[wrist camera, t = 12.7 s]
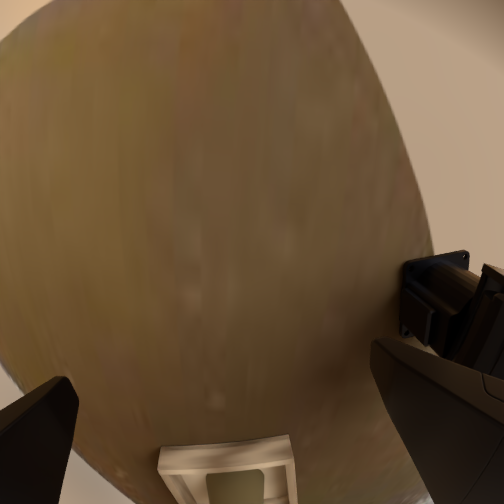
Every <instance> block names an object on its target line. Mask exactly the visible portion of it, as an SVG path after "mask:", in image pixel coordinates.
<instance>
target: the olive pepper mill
mask: <svg viewBox="0 0 504 504" xmlns="http://www.w3.org/2000/svg"><path fill="white" fill-rule="evenodd" d="M264 480H265V479H264V474H263V472H262V471H261V470H259V469H252V470H243V471H233V472H222V473H207V475H206V485H207V491H208V498H209V504H264Z"/></svg>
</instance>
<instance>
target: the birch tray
mask: <svg viewBox="0 0 504 504" xmlns="http://www.w3.org/2000/svg"><path fill="white" fill-rule="evenodd" d="M252 469H259V470H261V471H262V472H263V474H264V479H265V480H264V504H298V503H297V490H296V477H295V464H294V456H293V452H292V447H291V443H290V438H289V434H287V435H281V436H275V437H269V438H262V439H255V440H247V441H239V442H229V443H219V444H206V445H190V446H161V450H160V456H159V462H158V468H157V470H158V472H159V474H160V475H161V477H162V479H163V480H164V482H165V483H166V485H167V487H168V488H169V490H170V491H171V493H172V494H173V496H174V497H175V499H176V500H177V502H178V503H179V504H209V498H208V491H207V485H206V475H207V473H222V472H233V471H243V470H252Z"/></svg>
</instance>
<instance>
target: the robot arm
mask: <svg viewBox="0 0 504 504" xmlns="http://www.w3.org/2000/svg"><path fill="white" fill-rule="evenodd" d="M464 255H465V256H464ZM463 256H464V258H463ZM469 257H470V255H469V252H468V251H466V250H460V251H455V252H450V253H445V254H440V255H435V256H430V257H425V258H420V259H414V260H409V261H407V262H406V263H405V264H404V268H403V289H402V291H401V301H400V316H399V320H400V331H399V333H400V335H401V336H402V337H403V338H409V337H412V336H415V337H416V338H417V339H418V340H419V341H420V342H421V343H422V344H423V345H424V346H425V347H427V346H430V347H431V348H432V349H433V350H434V351H435V352H436V353H437V355H438V356H439V357H438V356H436V355H433V354H430V353H428V352H425V351H423V350H420V349H417V348H415V347H412V346H410V345H407V344H404V343H402V342H399V341H397V340H394V339H392V338H389V337H386V336H383V337H379V338H376V339H373V340H372V342H371V352H370V368H371V372H372V374H373V377H374V379H375V382H376V384H377V387H378V389H379V392H380V394H381V397H382V400H383V402H384V405H385V407H386V410H387V412H388V414H389V416H390V418H391V420H392V422H393V424H394V425H395V427H396V429H397V431H398V433H399V435H400V437H401V439H402V441H403V442H404V444H405V446H406V448H407V450H408V452H409V454H410V456H411V458H412V460H413V462H414V464H415V466H416V468H417V470H418V472H419V474H420V476H421V478H422V480H423V482H424V484H425V486H426V488H427V490H428V492H429V494H430V496H431V498H432V500H433V502H434V504H504V269H501V268H498V267H495V266H491V265H488V264H485V263H484V265H483V267H482V270H481V271H482V275H481V277H479V276H477V275H475V274H474V273H472V272H470V271H468V268H469ZM411 265H412V268H411V269H410V270H409V267H410V266H411ZM405 331H407V332H406V333H405ZM78 407H79V398H78V396H77V394H76V392H75V390H74V388H73V386H72V384H71V382H70V380H69V379H68V378H67V377H66V376H56V377H54V378H52V379H50V380H49V381H47V382H45V383H44V384H42V385H41V386H39V387H37V388H36V389H34V390H33V391H31V392H29V393H28V394H26V395H25V396H23V397H21V398H20V399H18V400H16V401H15V402H13V403H12V404H10V405H8V406H7V407H5V408H4V409H2V410H0V504H58V503H59V498H60V494H61V489H62V484H63V479H64V475H65V471H66V467H67V462H68V459H69V455H70V451H71V447H72V442H73V437H74V430H75V424H76V418H77V413H78Z"/></svg>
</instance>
